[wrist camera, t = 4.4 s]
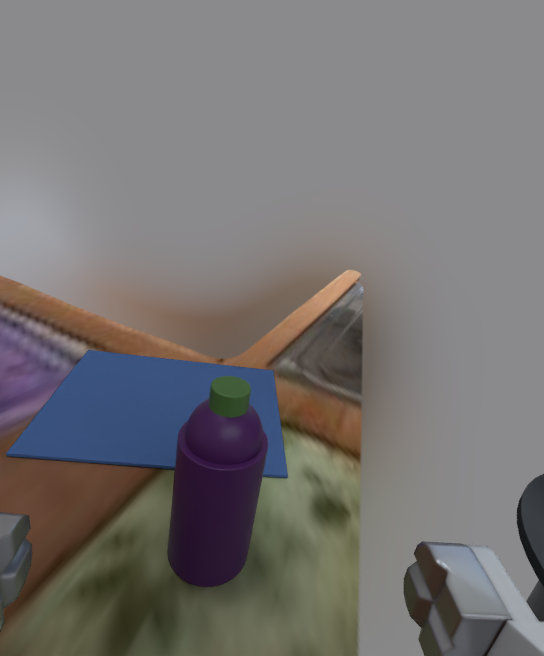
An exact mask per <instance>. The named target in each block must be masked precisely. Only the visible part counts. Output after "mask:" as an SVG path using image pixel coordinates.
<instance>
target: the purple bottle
mask: <svg viewBox="0 0 544 656" xmlns="http://www.w3.org/2000/svg"><path fill="white" fill-rule="evenodd" d="M250 394H251V386H250V384H249V383H248V382H247V381H245V380H243V379H241V378H238V377H234V376H222V377H218V378H216V379H214V380H213V381H212V383H211V387H210V396H209V399H207V400H205V401H204V402H202V403H201V404H200V405H198V406H197V407H196V409H195V410H194V411H193V412H192V414H191V416H190V418H189V420H188V421H187V422H186V423H185V424H184V425H183V426H182V427H181V429H180V431H179V433H178V440H177V451H176V462H175V474H174V485H173V496H172V508H171V519H170V530H169V542H168V559H169V562H170V565H171V567H172V569H173V570H174V571H175V573H176V574H177V575H178V576H179V577H180V578H182V579H183V580H184V581H186V582H188V583H190V584H193V585H196V586H202V587H212V586H218V585H221V584H224V583H226V582H228V581H230V580H231V579H233V578H234V577H235V576H236V575H237V574H238V573H239V572H240V571H241V570H242V568H243V566H244V564H245V562H246V559H247V554H248V549H249V544H250V539H251V533H252V528H253V523H254V518H255V513H256V508H257V502H258V497H259V492H260V487H261V482H262V477H263V471H264V466H265V461H266V456H267V451H268V438H267V436H266V434H265V432H264V430H263V428H262V423H261V420H260V417H259V415H258V413H257V412H256V410H255V409H254V408H253V407H252V406H251V405H250V404H249V400H250Z"/></svg>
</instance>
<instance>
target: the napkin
mask: <svg viewBox="0 0 544 656" xmlns="http://www.w3.org/2000/svg"><path fill="white" fill-rule="evenodd" d="M222 376H234V377H238V378H241V379H243V380H245V381H247V382H248V383H249V384H250V386H251V394H250V400H249V404H250V405H251V406H252V407H253V408H254V409H255V410H256V412H257V413H258V415H259V417H260V420H261V423H262V428H263V430H264V432H265V434H266V436H267V438H268V451H267V456H266V461H265V466H264V471H263V476H266V477H278V478H287V477H288V474H287V467H286V459H285V452H284V445H283V438H282V430H281V423H280V416H279V409H278V402H277V394H276V387H275V380H274V373H273V370H264V369H255V368H246V367H237V366H228V365H219V364H210V363H201V362H192V361H183V360H174V359H165V358H156V357H146V356H137V355H128V354H119V353H110V352H101V351H92V350H88V351H87V352H86V353H85V355H84V356H83V357H82V359H81V360H80V361H79V362H78V364H77V365H76V366H75V367H74V369H73V370H72V371H71V372H70V374H69V375H68V376H67V377H66V379H65V380H64V381H63V382H62V384H61V385H60V386H59V387H58V389H57V390H56V391H55V393H54V394H53V395H52V396H51V398H50V399H49V400H48V401H47V403H46V404H45V405H44V406H43V408H42V409H41V410H40V411H39V413H38V414H37V415H36V416H35V418H34V419H33V420H32V422H31V423H30V424H29V425H28V427H27V428H26V429H25V430H24V432H23V433H22V434H21V435H20V437H19V438H18V439H17V440H16V442H15V443H14V444H13V445H12V447H11V448H10V449H9V451H8V452H7V453H6V455H7V456H11V457H24V458H37V459H49V460H62V461H75V462H88V463H100V464H113V465H126V466H138V467H151V468H164V469H175V462H176V451H177V440H178V433H179V431H180V429H181V427H182V426H183V425H184V424H185V423H186V422H187V421H188V420H189V418H190V416H191V414H192V412H193V411H194V410H195V409H196V407H197V406H198V405H200V404H201V403H202V402H204V401H205V400H207V399H209V396H210V387H211V383H212V381H213V380H214V379H216V378H218V377H222Z"/></svg>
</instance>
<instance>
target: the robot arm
mask: <svg viewBox="0 0 544 656" xmlns="http://www.w3.org/2000/svg"><path fill="white" fill-rule="evenodd" d="M30 528H31V527H30V519H29V516H28V515H23V514H13V513H3V512H0V631H1V629H2V627H3V625H4V624H5V622H4V612H3V609H4V608H6V607H7V606H8V605H10V604H11V603H12V602H13V601H15V600H16V599H17V598H18V596H19V594H20V592H21V590H22V588H23V586H24V584H25V582H26V579H27V575H28V572H29V569H30V566H31V560H32V544H31V543H30V542H29V541H28V540H27V539H26V538H25V537H26V535H27V534H28V532H29V530H30ZM414 555H415V557H416V560H417V562H415V563H414V564H412V565H411V566H410V567H408V569H407V572H406V574H405V577H404V596H405V602H406V606H407V608H408V611H409V614H410V617H411V618H412V619H413V620H414V621H415V622H416V623H417V624H418V625H419V626H420V627H421V631H420V635H419V642H420V645H421V647H422V650H423V653H424V656H544V622H539V621H538V620H537V618H536V617H535V615H534V614H533V612H532V610H531V609H530V607H529V606H528V604H527V603H526V601H525V599H524V598H523V596H522V595H521V593H520V592H519V590H518V589H517V587H516V585H515V584H514V582H513V581H512V579H511V578H510V576H509V574H508V573H507V571H506V570H505V568H504V567H503V565H502V563H501V562H500V560H499V559H498V558H497V556H496V554H495V553H494V551H493V550H492V549H491V548H489V547H488V546H481V545H466V544H465V545H463V544H456V543H438V542H421V543H420V544H418V545H417V547H416V550H415V552H414Z"/></svg>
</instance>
